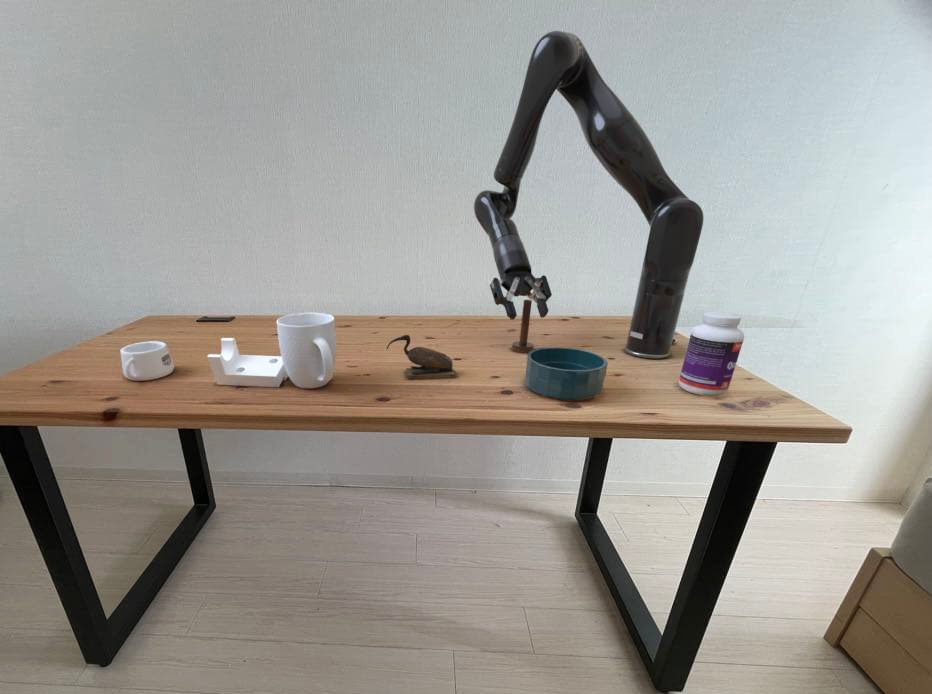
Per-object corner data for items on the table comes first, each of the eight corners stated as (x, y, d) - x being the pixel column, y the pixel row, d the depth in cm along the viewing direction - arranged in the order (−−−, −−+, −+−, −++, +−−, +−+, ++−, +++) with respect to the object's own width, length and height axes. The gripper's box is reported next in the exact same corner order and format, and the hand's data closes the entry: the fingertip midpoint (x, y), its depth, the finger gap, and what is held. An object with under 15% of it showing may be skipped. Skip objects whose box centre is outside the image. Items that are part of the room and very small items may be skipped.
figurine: (387, 380, 93) (387, 338, 89) (386, 372, 97) (385, 332, 93) (455, 377, 94) (457, 336, 90) (451, 370, 98) (453, 330, 94)
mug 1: (141, 366, 102) (134, 340, 100) (183, 366, 102) (177, 340, 99) (107, 386, 91) (98, 357, 89) (153, 386, 91) (146, 358, 88)
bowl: (535, 370, 97) (539, 343, 95) (607, 382, 90) (612, 353, 88) (514, 392, 86) (517, 362, 84) (594, 408, 79) (600, 376, 77)
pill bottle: (727, 401, 81) (752, 322, 75) (675, 392, 85) (696, 316, 79) (725, 387, 88) (749, 312, 82) (678, 379, 92) (696, 308, 86)
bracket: (218, 388, 92) (206, 356, 87) (232, 368, 98) (222, 337, 93) (279, 391, 90) (271, 359, 86) (290, 370, 96) (283, 339, 91)
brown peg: (515, 346, 114) (520, 297, 109) (535, 348, 111) (541, 299, 106) (508, 351, 110) (513, 301, 105) (529, 354, 107) (535, 303, 102)
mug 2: (358, 391, 87) (354, 324, 82) (304, 404, 82) (297, 334, 76) (324, 369, 99) (319, 309, 93) (275, 380, 93) (267, 317, 88)
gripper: (489, 249, 106) (507, 309, 101) (544, 247, 109) (564, 306, 104) (478, 269, 113) (494, 327, 108) (531, 267, 116) (549, 323, 111)
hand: (529, 316), depth 106 cm, fingers open, 7 cm apart
